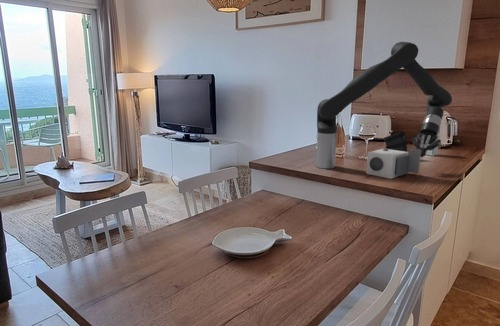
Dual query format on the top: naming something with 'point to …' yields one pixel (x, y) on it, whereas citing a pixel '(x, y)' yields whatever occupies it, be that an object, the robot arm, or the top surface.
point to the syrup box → (435, 150)
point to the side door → (408, 162)
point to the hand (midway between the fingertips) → (421, 156)
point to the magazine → (396, 142)
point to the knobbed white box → (383, 162)
